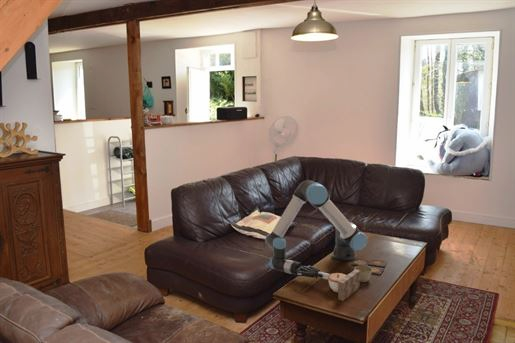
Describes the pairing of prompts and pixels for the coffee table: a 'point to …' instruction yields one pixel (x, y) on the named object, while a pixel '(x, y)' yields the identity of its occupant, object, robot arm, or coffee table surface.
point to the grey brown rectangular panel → (348, 285)
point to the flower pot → (364, 272)
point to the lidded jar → (335, 280)
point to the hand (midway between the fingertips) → (328, 276)
